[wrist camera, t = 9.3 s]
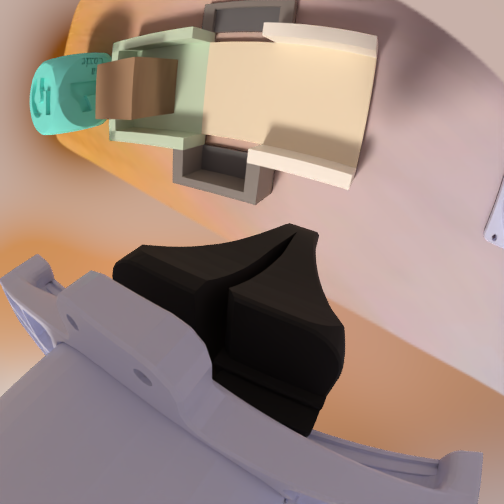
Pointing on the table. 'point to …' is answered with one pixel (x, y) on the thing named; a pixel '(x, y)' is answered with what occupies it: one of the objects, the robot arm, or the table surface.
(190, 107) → the tray
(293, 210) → the table surface
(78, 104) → the decorative dice
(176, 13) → the table surface
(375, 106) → the table surface
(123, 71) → the walnut cube
